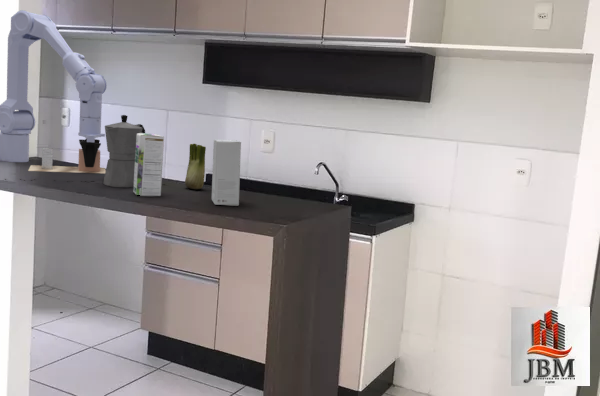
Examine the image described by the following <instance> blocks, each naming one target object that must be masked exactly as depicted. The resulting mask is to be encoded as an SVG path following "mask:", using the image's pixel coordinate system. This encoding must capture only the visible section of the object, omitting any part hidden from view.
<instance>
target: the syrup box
mask: <svg viewBox="0 0 600 396" xmlns="http://www.w3.org/2000/svg"><path fill="white" fill-rule="evenodd" d="M164 144H165V136H162V135H160V134H155V133H149V132H145V133H137V137H136V153H135V168H134V187H133V188H132V191H133V193H134V194H135V195H136V196H137V195H140V196H139V197H161V196H162V182H163V181H162V180H163V164H164V162H163V161H164V148H165V145H164Z"/></svg>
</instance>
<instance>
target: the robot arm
mask: <svg viewBox="0 0 600 396" xmlns="http://www.w3.org/2000/svg"><path fill="white" fill-rule="evenodd" d="M7 36H8V37H7V58H6V59H7V60H6V61H7V62H6V65H7V67H6V68H7V70H6V71H7V72H6V100H4V101H3V102H2V103H1V104H0V161H1V162H2V161H3V162H9V163H27V162H28V163H29V162H30V161H29V160H30V159H29V158H30V154H29V153H30V134H31V133H32V131H33V130H34V128H35V126H36V117H35V115H34V108H33V106H32V105H31V104H30V102H29V101H28V93H29V91H28V90H29V88H28V86H29V85H28V84H29V48H30V46H32V45H33V44H34V43H36V42H38V41H40V40H45V41H46V42H47V44H49V46H51V48H52V50H54V51H55V52H56V54H58V55H59V56H60V58H61V59H62V62H61V63H62V67H63V68H64V69H65V71H66V72H68V74H69V75H70V76H71V78H72V79H73V80H74V81H75V87H76V91H77V92H78V99H79V126H78V127H79V132H78V136H80V137H83V138H84V139H78V142H79V145H80V147H81V149H82V150H83V154H84V162H85V167H94V163H95V159H96V154H97V151H98V150H100V149H99V148H100V147H101V145H102V143H101V141H100V139H98V138H101V137H104V138H106V133H101V132H102V110H103V109H102V107H103V105H102V103H103V94H104V93H105V92H106V90H107V80H106V79H105V77H104V76H103V74H100V73H96V70H95V69H94V68H93V67H91V66H90V64H89V63H88V62H87V61H86V57H85V55H83V53H82V54H81V53H79V52H74V51H73V49H71V47H70V46H69V45H68V43H67V41H66V40H65V39H64V37H63V36H62V34H61V33H60V32H59V30H58V29H57V24H56V23H55V22H54V21H52V18H51V17H49V16H48V15H47V14H39V13H34V12H30V11H27V10H23V9H21V10H18V11H17V12H15V14H13V15H12V16H11V17H10V31H9V33H8V35H7Z"/></svg>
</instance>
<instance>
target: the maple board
mask: <svg viewBox="0 0 600 396" xmlns="http://www.w3.org/2000/svg"><path fill="white" fill-rule="evenodd" d="M27 171H28V172H51V173H76V174H77V173H81V174H84V173H85V174H104V175H105V172H106V168H105V167H100V172H96V171H79V170H78V166H64V165H63V166H60V165H52V169H42V165H37V164H36V165H35V164H31V165H30V166H29V168H28V169H27Z"/></svg>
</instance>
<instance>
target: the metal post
mask: <svg viewBox="0 0 600 396" xmlns="http://www.w3.org/2000/svg"><path fill="white" fill-rule="evenodd" d="M53 151H54V149H53V148H49V147H42V149H41V166H42V169H52V166H53V157H54V155H53V154H54V153H53Z"/></svg>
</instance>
